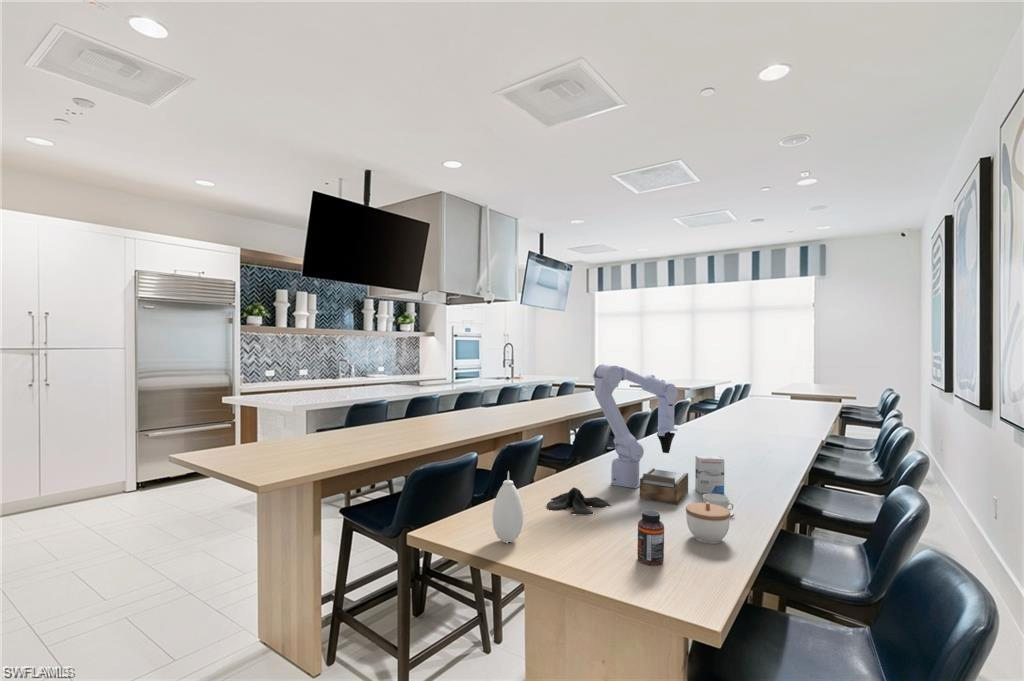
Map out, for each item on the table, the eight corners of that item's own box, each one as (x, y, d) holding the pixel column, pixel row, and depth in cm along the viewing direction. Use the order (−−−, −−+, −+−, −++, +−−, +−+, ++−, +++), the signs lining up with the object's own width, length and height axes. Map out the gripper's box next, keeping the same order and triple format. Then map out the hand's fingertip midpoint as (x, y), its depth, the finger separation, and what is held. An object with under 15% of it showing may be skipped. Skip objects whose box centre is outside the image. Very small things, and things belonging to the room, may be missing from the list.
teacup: (693, 512, 152) (693, 497, 152) (705, 505, 159) (705, 490, 159) (727, 521, 145) (727, 504, 145) (738, 512, 153) (738, 496, 153)
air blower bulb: (493, 535, 132) (494, 466, 132) (523, 536, 132) (523, 467, 132) (491, 547, 124) (491, 474, 124) (522, 548, 124) (523, 475, 124)
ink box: (720, 489, 175) (720, 455, 175) (724, 494, 170) (724, 459, 170) (694, 488, 176) (694, 455, 176) (698, 493, 171) (698, 458, 171)
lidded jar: (731, 550, 124) (731, 512, 124) (685, 543, 128) (685, 506, 128) (728, 534, 134) (729, 499, 134) (686, 529, 138) (686, 494, 138)
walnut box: (639, 498, 164) (639, 478, 164) (652, 486, 178) (652, 468, 178) (677, 505, 158) (677, 484, 158) (688, 492, 172) (688, 473, 172)
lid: (642, 482, 164) (643, 474, 164) (655, 472, 177) (655, 464, 177) (673, 487, 159) (673, 478, 159) (684, 476, 172) (684, 468, 172)
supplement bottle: (633, 555, 120) (634, 508, 120) (658, 555, 121) (658, 507, 121) (642, 567, 114) (642, 516, 114) (667, 566, 115) (668, 516, 115)
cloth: (616, 503, 161) (616, 484, 161) (596, 521, 145) (597, 500, 145) (552, 493, 172) (552, 475, 172) (527, 508, 155) (527, 488, 155)
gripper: (672, 419, 177) (672, 457, 177) (681, 414, 190) (681, 450, 190) (652, 417, 181) (652, 455, 181) (662, 412, 194) (662, 448, 194)
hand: (665, 452), depth 186 cm, fingers closed
